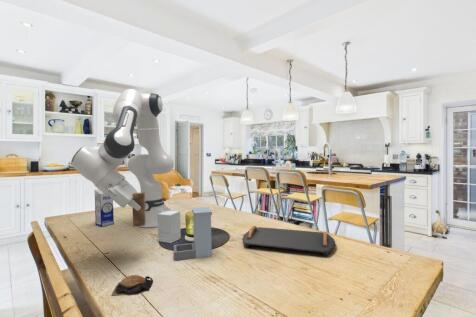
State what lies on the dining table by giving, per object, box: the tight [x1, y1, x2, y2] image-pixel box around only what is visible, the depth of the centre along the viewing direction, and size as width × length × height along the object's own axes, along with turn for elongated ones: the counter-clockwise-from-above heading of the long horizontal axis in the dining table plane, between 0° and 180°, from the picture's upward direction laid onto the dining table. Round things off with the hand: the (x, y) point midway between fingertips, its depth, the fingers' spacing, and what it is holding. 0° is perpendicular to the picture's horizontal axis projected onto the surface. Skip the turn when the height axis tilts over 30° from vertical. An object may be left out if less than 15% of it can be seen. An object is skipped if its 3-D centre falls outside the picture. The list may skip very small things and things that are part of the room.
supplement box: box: [157, 210, 182, 244], centre depth 117 cm, size 7×7×13 cm
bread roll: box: [110, 274, 154, 297], centre depth 76 cm, size 11×8×4 cm
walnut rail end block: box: [132, 192, 146, 228], centre depth 97 cm, size 4×4×12 cm
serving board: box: [242, 225, 336, 257], centre depth 110 cm, size 39×23×6 cm, turn 71°
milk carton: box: [94, 188, 115, 228], centre depth 143 cm, size 7×7×20 cm
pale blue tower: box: [173, 206, 213, 262], centre depth 100 cm, size 14×9×17 cm, turn 105°
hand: (140, 207), depth 97 cm, fingers closed on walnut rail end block, 4 cm apart
